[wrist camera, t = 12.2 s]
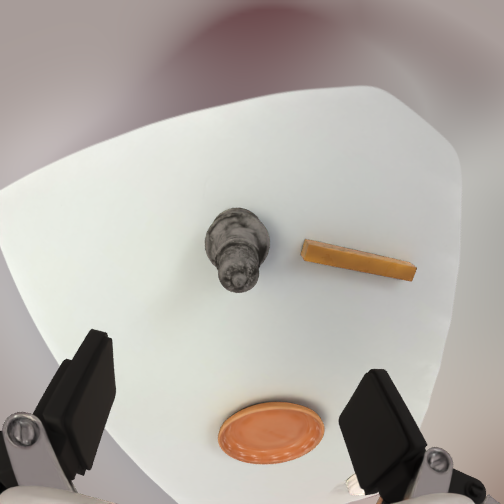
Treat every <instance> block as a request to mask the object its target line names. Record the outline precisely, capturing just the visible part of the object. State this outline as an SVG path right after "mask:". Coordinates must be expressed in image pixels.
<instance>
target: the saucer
mask: <svg viewBox="0 0 504 504" xmlns="http://www.w3.org/2000/svg"><path fill="white" fill-rule="evenodd" d="M323 435H324V424H323V422H322V420H321V418H320V417H319V415H318V414H317V413H315V412H314V411H313V410H311V409H309V408H307V407H304V406H301V405H298V404H293V403H287V402H267V403H261V404H257V405H253V406H250V407H248V408H245V409H243V410H241V411H239V412H237V413H235V414H234V415H232V416H231V417H230V418H228V419H227V420H226V421H225V422H224V423H223V425H222V426H221V428H220V431H219V434H218V442H219V445H220V447H221V449H222V450H223V451H224V452H225V453H226V454H227V455H229V456H230V457H232V458H234V459H237V460H239V461H242V462H246V463H252V464H276V463H282V462H287V461H290V460H294V459H296V458H299V457H301V456H303V455H305V454H307V453H308V452H310V451H311V450H313V449H314V448H315V447H316V446H317V445H318V444H319V443H320V441H321V440H322V438H323Z"/></svg>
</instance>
